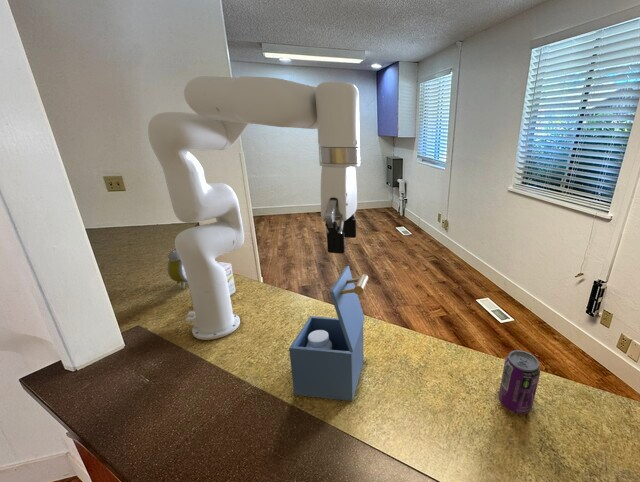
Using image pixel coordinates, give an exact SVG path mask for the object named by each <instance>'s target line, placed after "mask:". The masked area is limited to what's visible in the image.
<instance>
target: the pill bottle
mask: <svg viewBox="0 0 640 482" xmlns="http://www.w3.org/2000/svg"><path fill="white" fill-rule="evenodd" d="M306 347H307V348H318V349H328V350H332V343H331V341H330V340H329V335H328V333H327V332H326V331H324V330H316V331H313V332H311V333H310V334H309V335H308V343H307V345H306Z"/></svg>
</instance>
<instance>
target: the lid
mask: <svg viewBox="0 0 640 482" xmlns="http://www.w3.org/2000/svg"><path fill="white" fill-rule="evenodd" d="M368 282H369V276H368V274H366V273H362V274H361V275H359V277H356V278H353V275H352V271H351V269H350V266H349V265H346V266H344V269H343V270H342V272H341V273H340V275H339V276H338V278H337V279H336V281H335V283H334V284H333V286H332V287H331V289H330V291H329V296H330V298H331V300H332V303H333V306H334V309H335V312H336V316H337V318H338V319H339V322H340V325H341V328H342V331H343V334H344V337H345V340H346V343H347V346H348V349H349V352H353V351H354V348H355V345H356V342H357V339H358V336H359V334H360V331H361V328H362V325H363V326H364V323H365V319H366V318H365V314H364V312H363V308H362V305H361V302H360V298H359V296H360V295H362V294H363V293H364V291H365V289H366V287H367V284H368ZM355 283H356V284H355Z"/></svg>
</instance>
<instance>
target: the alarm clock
mask: <svg viewBox="0 0 640 482" xmlns="http://www.w3.org/2000/svg"><path fill="white" fill-rule="evenodd" d="M167 258H168V262H167V269H166V270H167V273H168V276H169V278H170V279H171V280H172V281H174V282H176V283H177V284H180V285H181V286H180V287H181V290H184V289H185V286H186V284H187V283H188V281H187V277H186V273H185V270H184V267H183V264H182V262H181V259H180V257H179V255H178V253H177V251H176V249H172V250H171V251H170V252H169V253H168V257H167Z"/></svg>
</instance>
